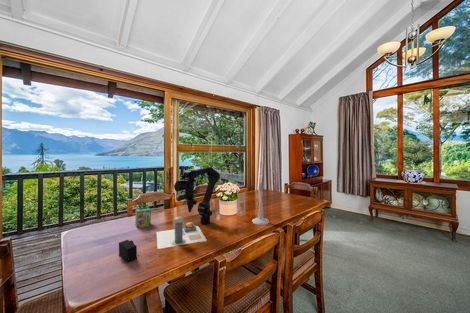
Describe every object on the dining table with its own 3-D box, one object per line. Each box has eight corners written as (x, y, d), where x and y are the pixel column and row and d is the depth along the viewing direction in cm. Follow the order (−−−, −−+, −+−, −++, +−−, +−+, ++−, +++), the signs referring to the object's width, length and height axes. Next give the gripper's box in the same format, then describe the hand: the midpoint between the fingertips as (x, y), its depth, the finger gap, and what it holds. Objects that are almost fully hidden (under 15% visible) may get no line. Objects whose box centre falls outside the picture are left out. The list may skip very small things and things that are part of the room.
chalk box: (136, 228, 134) (136, 207, 133) (135, 224, 142) (134, 204, 141) (151, 225, 139) (151, 205, 138) (148, 221, 147) (148, 202, 146)
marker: (179, 239, 116) (179, 216, 116) (184, 241, 114) (184, 217, 113) (172, 242, 113) (172, 218, 112) (177, 244, 110) (177, 219, 109)
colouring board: (197, 226, 138) (197, 225, 138) (206, 241, 116) (206, 240, 116) (156, 232, 127) (156, 231, 127) (157, 250, 105) (157, 248, 105)
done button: (192, 225, 134) (192, 221, 134) (193, 227, 130) (193, 224, 130) (185, 226, 133) (185, 222, 132) (186, 228, 128) (186, 225, 128)
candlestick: (268, 219, 153) (269, 181, 152) (269, 225, 140) (270, 183, 139) (252, 218, 154) (252, 180, 153) (252, 224, 142) (252, 183, 141)
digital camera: (139, 258, 97) (139, 244, 97) (127, 263, 93) (127, 248, 93) (130, 251, 104) (130, 238, 103) (119, 256, 99) (118, 242, 99)
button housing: (193, 226, 136) (193, 223, 136) (196, 230, 130) (196, 227, 129) (183, 228, 133) (183, 225, 133) (184, 232, 127) (184, 229, 127)
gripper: (175, 187, 136) (175, 209, 136) (178, 192, 119) (178, 218, 119) (191, 186, 140) (191, 207, 141) (197, 191, 123) (197, 215, 124)
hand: (189, 212), depth 131 cm, fingers closed
